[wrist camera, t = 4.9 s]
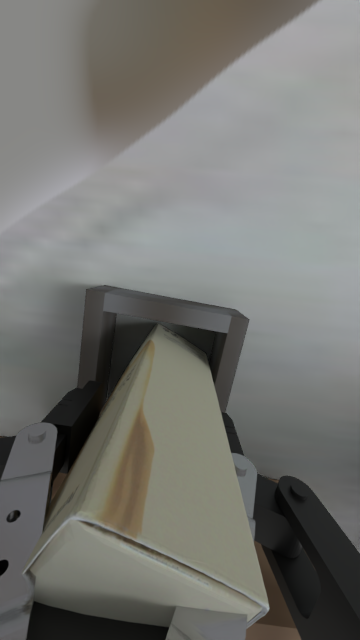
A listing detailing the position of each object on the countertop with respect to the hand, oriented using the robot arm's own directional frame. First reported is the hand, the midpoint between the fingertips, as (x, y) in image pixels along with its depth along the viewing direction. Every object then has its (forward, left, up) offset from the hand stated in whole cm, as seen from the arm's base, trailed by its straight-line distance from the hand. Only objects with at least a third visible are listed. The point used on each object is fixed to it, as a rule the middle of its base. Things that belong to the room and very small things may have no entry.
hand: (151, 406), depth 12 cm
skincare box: (0, 0, -4) cm, 4 cm away
